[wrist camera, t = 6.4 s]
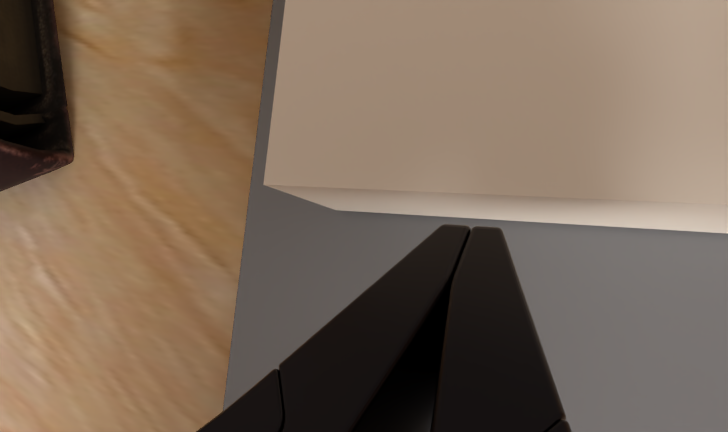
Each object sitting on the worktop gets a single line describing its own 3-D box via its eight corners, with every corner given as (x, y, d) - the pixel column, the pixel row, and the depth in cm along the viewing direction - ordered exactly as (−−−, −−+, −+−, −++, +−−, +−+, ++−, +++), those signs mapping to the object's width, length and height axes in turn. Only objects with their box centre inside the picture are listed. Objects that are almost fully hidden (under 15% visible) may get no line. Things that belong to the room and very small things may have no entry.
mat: (913, 609, 11) (926, 620, 10) (226, 443, 16) (218, 446, 16) (912, -302, 13) (923, -319, 12) (300, -171, 18) (295, -180, 18)
